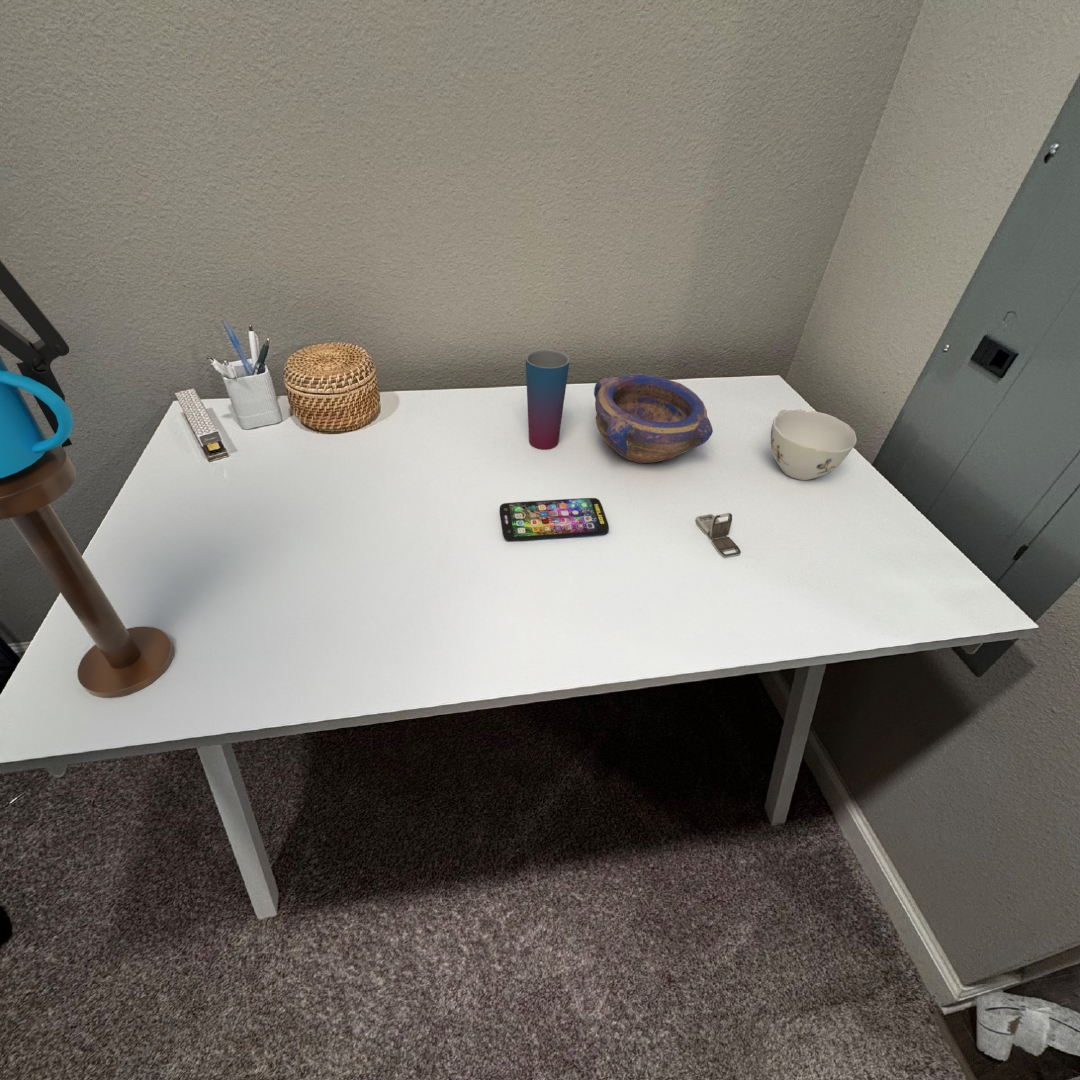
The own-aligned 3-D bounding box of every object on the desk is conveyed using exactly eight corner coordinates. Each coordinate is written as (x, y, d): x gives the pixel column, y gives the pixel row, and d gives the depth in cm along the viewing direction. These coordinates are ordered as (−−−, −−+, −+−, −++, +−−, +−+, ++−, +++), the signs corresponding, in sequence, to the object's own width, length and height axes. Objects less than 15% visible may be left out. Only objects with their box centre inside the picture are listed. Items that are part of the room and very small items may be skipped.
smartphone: (498, 502, 91) (599, 496, 93) (498, 507, 91) (598, 501, 93) (503, 537, 85) (611, 530, 87) (503, 543, 86) (610, 536, 87)
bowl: (709, 479, 99) (724, 424, 92) (597, 479, 98) (604, 424, 91) (684, 421, 112) (695, 369, 106) (585, 420, 111) (590, 368, 105)
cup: (515, 439, 106) (516, 356, 96) (544, 426, 109) (548, 344, 99) (542, 457, 102) (546, 372, 92) (571, 443, 105) (578, 359, 96)
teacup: (855, 488, 99) (875, 445, 93) (786, 498, 96) (802, 454, 91) (802, 438, 109) (817, 397, 104) (738, 445, 107) (750, 404, 101)
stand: (93, 713, 64) (-59, 517, 47) (72, 658, 69) (-72, 463, 52) (185, 668, 68) (77, 474, 51) (159, 619, 73) (53, 428, 56)
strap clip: (693, 521, 91) (698, 497, 88) (711, 517, 92) (717, 494, 89) (722, 559, 85) (729, 535, 82) (742, 555, 86) (749, 531, 83)
